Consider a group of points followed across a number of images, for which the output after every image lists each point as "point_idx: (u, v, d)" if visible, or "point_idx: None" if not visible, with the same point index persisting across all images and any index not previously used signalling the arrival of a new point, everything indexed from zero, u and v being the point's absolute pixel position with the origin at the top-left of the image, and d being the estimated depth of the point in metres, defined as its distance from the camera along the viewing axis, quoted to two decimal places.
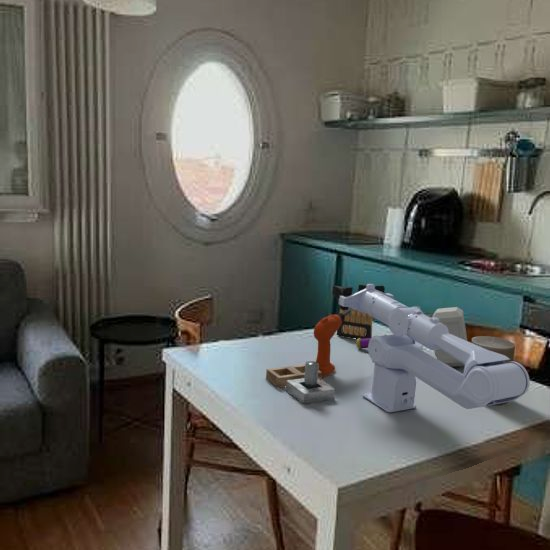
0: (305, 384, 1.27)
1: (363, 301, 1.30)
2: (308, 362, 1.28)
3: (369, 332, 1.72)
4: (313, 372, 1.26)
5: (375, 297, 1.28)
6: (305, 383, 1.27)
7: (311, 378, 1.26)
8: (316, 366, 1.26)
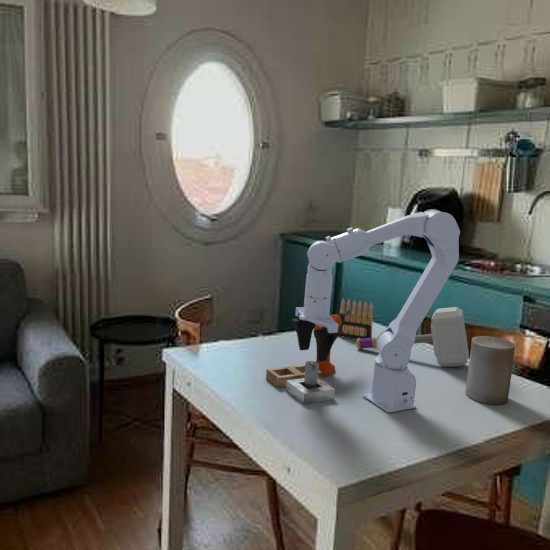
0: (305, 384, 1.27)
1: (321, 312, 1.22)
2: (308, 362, 1.28)
3: (369, 332, 1.72)
4: (313, 372, 1.26)
5: (312, 299, 1.22)
6: (305, 383, 1.27)
7: (311, 378, 1.26)
8: (316, 366, 1.26)
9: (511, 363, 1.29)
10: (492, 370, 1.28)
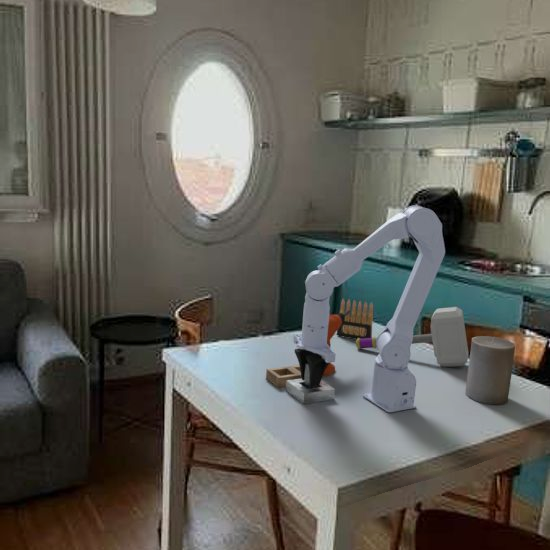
0: (305, 384, 1.27)
1: (319, 341, 1.23)
2: None
3: (369, 332, 1.72)
4: None
5: (310, 329, 1.23)
6: (305, 383, 1.27)
7: None
8: None
9: (511, 363, 1.29)
10: (492, 370, 1.28)
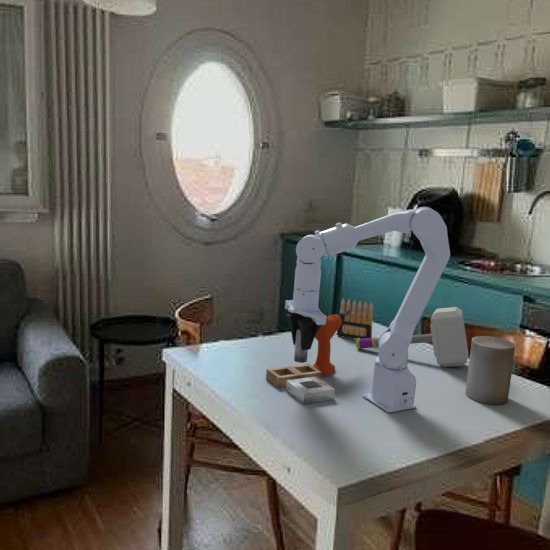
0: (296, 349, 1.28)
1: (310, 304, 1.25)
2: (299, 328, 1.29)
3: (369, 332, 1.72)
4: None
5: (301, 292, 1.24)
6: (296, 348, 1.28)
7: None
8: None
9: (511, 363, 1.29)
10: (492, 370, 1.28)
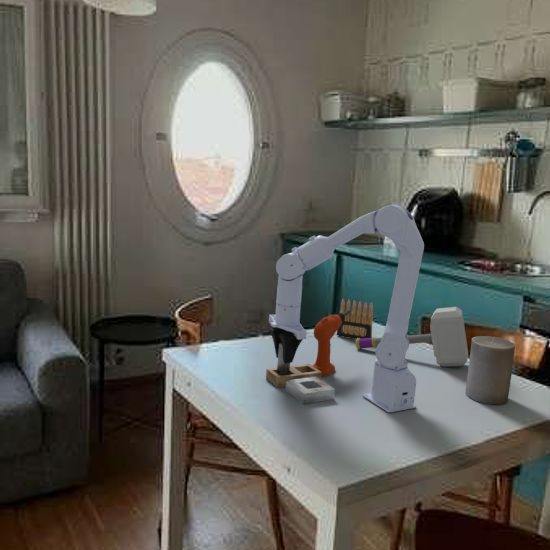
0: (278, 362, 1.34)
1: (291, 319, 1.30)
2: None
3: (369, 332, 1.72)
4: None
5: (283, 308, 1.29)
6: (278, 361, 1.34)
7: None
8: None
9: (511, 363, 1.29)
10: (492, 370, 1.28)
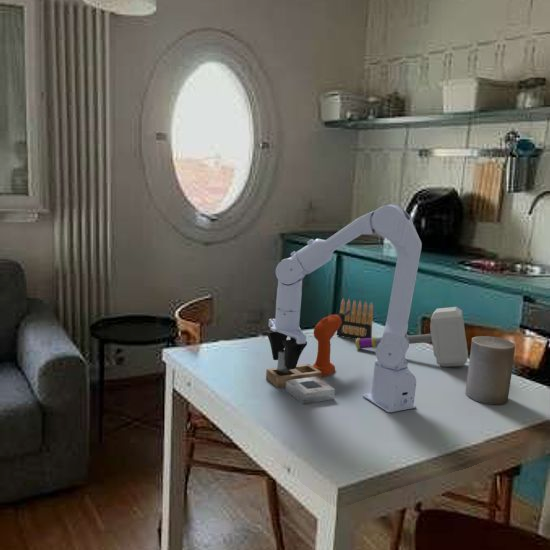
0: (278, 371, 1.34)
1: (291, 324, 1.30)
2: (281, 350, 1.34)
3: (369, 332, 1.72)
4: (285, 360, 1.33)
5: (283, 312, 1.29)
6: (278, 370, 1.34)
7: (283, 366, 1.33)
8: None
9: (511, 363, 1.29)
10: (492, 370, 1.28)
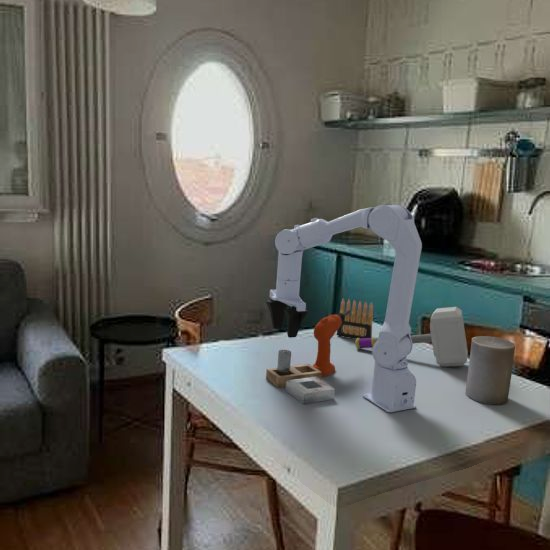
0: (278, 371, 1.34)
1: (291, 293, 1.35)
2: (281, 350, 1.34)
3: (369, 332, 1.72)
4: (285, 360, 1.33)
5: (283, 281, 1.35)
6: (278, 370, 1.34)
7: (283, 366, 1.33)
8: (288, 354, 1.33)
9: (511, 363, 1.29)
10: (492, 370, 1.28)
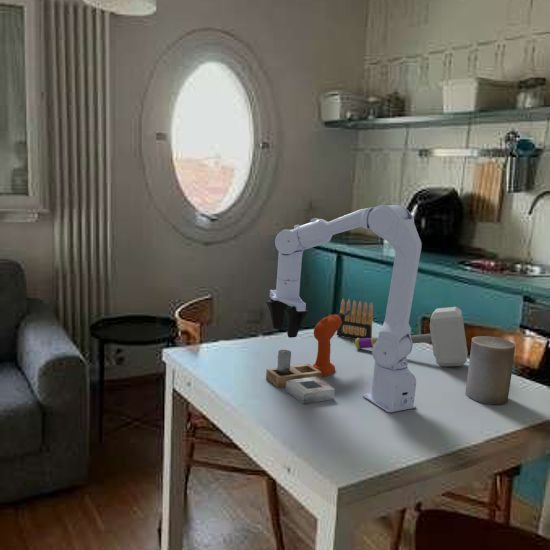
0: (278, 371, 1.34)
1: (291, 293, 1.35)
2: (281, 350, 1.34)
3: (369, 332, 1.72)
4: (285, 360, 1.33)
5: (283, 281, 1.35)
6: (278, 370, 1.34)
7: (283, 366, 1.33)
8: (288, 354, 1.33)
9: (511, 363, 1.29)
10: (492, 370, 1.28)
